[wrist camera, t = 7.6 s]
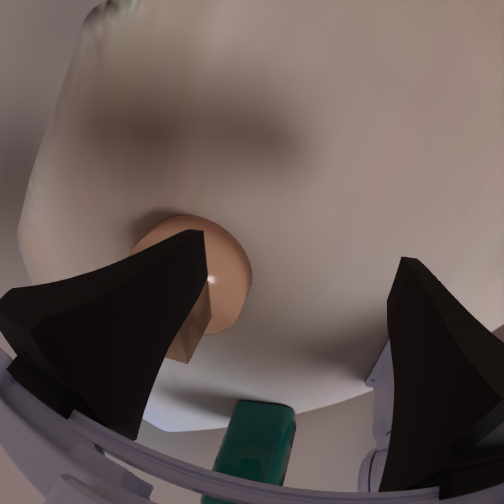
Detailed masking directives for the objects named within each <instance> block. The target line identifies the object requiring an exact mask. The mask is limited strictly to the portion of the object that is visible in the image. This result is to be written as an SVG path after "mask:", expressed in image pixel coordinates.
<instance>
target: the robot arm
mask: <svg viewBox="0 0 504 504" xmlns="http://www.w3.org/2000/svg"><path fill="white" fill-rule="evenodd" d="M207 277H208V268H207V259H206V250H205V239H204V231H203V230H194V229H187V230H184V231H182V232H179V233H177V234H175V235H173V236H171V237H169V238H167V239H165V240H163V241H161V242H158V243H156V244H154V245H152V246H150V247H148V248H146V249H144V250H142V251H140V252H138V253H136V254H134V255H131V256H129V257H127V258H125V259H123V260H121V261H118V262H116V263H113V264H111V265H108V266H106V267H103V268H101V269H98V270H95V271H92V272H89V273H85V274H82V275H79V276H76V277H72V278H69V279H65V280H61V281H57V282H52V283H47V284H41V285H35V286H27V287H20V288H13V289H11V290H9V291H8V292H7V293H6V294H5V295H4V296H3V297H2V298H1V299H0V331H1V333H2V334H3V336H4V337H5V339H6V340H7V341H8V343H9V344H10V346H11V347H12V348H13V350H14V351H15V353H16V354H17V357H16V358H15V359H14V360H13V359H11V357H10V356H9V355H8V354H7V353H6V352H4V351H3V350H2V349H1V348H0V445H1V447H2V448H3V450H4V451H5V452H6V453H7V455H8V456H9V458H10V459H11V460H12V461H13V463H14V464H15V465H16V466H17V468H18V469H19V470H20V471H21V473H22V474H23V475H24V476H25V477H26V478H27V479H28V481H29V482H30V483H31V484H32V485H33V486H34V487H35V488H36V489H37V490H38V492H40V494H41V495H42V496H43V497H44V498H45V499H46V500H45V502H44V504H157V503H155V502H153V501H150V498H149V497H150V494H151V492H152V490H153V486H152V485H151V484H149V483H147V482H145V481H143V480H142V479H140V478H138V477H137V476H135V475H134V474H132V473H131V472H130V471H128V470H127V469H126V468H124V467H122V466H121V465H119V464H117V463H115V462H113V461H112V460H110V459H109V458H107V457H105V454H104V452H106V453H108V454H109V455H111V456H113V457H115V458H117V459H119V460H121V461H123V462H125V463H127V464H129V465H131V466H133V467H135V468H137V469H139V470H141V471H143V472H146V473H148V474H150V475H152V476H155V477H157V478H160V479H162V480H164V481H167V482H169V483H172V484H175V485H177V486H180V487H183V488H186V489H188V490H192V491H194V492H197V493H201V494H204V495H207V496H210V497H214V498H217V499H221V500H225V501H228V502H232V503H236V504H504V343H503V342H502V341H501V340H500V339H498V338H497V337H496V336H495V335H493V334H492V333H491V332H490V331H489V330H488V329H487V328H485V327H484V326H483V325H482V324H481V323H480V322H479V321H478V320H477V319H476V318H474V317H473V316H472V315H471V314H470V313H469V312H468V311H467V310H466V309H465V308H464V307H463V306H462V305H461V303H460V302H459V301H458V300H457V299H456V298H455V297H454V296H453V295H452V294H451V293H450V292H449V291H448V290H447V289H446V288H445V287H444V285H443V284H442V283H441V282H440V281H439V280H438V279H437V278H436V277H435V276H434V275H433V274H432V273H431V272H430V270H429V269H428V268H427V267H426V266H425V265H424V264H423V263H421V262H420V261H419V260H418V259H416V258H409V257H401V260H400V264H399V267H398V270H397V273H396V276H395V279H394V282H393V285H392V288H391V291H390V294H389V297H388V299H387V325H388V333H389V340H388V342H387V344H386V346H385V348H384V349H383V351H382V353H381V355H380V357H379V359H378V361H377V363H376V365H375V366H374V368H373V370H372V372H371V374H370V375H369V377H368V379H367V381H366V383H365V385H366V386H367V387H373V436H374V438H375V440H376V442H377V447H376V448H375V449H372V450H370V452H369V453H368V454H367V455H366V457H365V458H364V460H363V461H362V464H361V467H360V470H359V476H358V492H331V491H317V490H307V489H298V488H291V487H284V486H278V485H272V484H266V483H261V482H256V481H251V480H247V479H242V478H238V477H234V476H230V475H226V474H222V473H219V472H215V471H212V470H208V469H205V468H202V467H199V466H195V465H192V464H189V463H186V462H184V461H181V460H178V459H175V458H173V457H170V456H167V455H165V454H162V453H160V452H157V451H155V450H153V449H150V448H148V447H145V446H143V445H141V444H139V443H136V442H134V440H136V439H137V435H138V431H139V428H140V424H141V420H142V417H143V413H144V410H145V407H146V404H147V401H148V398H149V395H150V392H151V390H152V387H153V384H154V382H155V379H156V377H157V374H158V372H159V369H160V367H161V365H162V362H163V360H164V358H165V355H166V353H167V351H168V349H169V347H170V345H171V343H172V341H173V339H174V338H175V336H176V334H177V333H178V331H179V330H180V328H181V326H182V325H183V323H184V321H185V320H186V318H187V316H188V315H189V313H190V311H191V310H192V308H193V306H194V305H195V303H196V301H197V300H198V298H199V296H200V294H201V292H202V289H203V287H204V285H205V282H206V280H207ZM103 451H104V452H103Z"/></svg>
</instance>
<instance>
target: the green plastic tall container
mask: <svg viewBox="0 0 504 504" xmlns="http://www.w3.org/2000/svg"><path fill="white" fill-rule="evenodd" d="M295 432H296V419H295V412H294V411H293V410H292V409H291V408H289V407H287V406H283V405H275V404H267V403H259V402H251V401H241V402H238V403H237V404H236V405H235V408H234V410H233V413H232V416H231V419H230V422H229V424H228V427H227V430H226V433H225V435H224V438H223V441H222V444H221V446H220V449H219V452H218V455H217V457H216V460H215V462H214V465H213V468H212V471H215V472H219V473H222V474H226V475H230V476H234V477H238V478H242V479H247V480H251V481H256V482H261V483H266V484H272V485H278V486H283V483H284V479H285V475H286V471H287V467H288V463H289V459H290V455H291V450H292V446H293V441H294V437H295ZM201 504H236V503H232V502H228V501H225V500H221V499H217V498H214V497H210V496H207V495H204V494H202V496H201Z"/></svg>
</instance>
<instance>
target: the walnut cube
mask: <svg viewBox="0 0 504 504" xmlns="http://www.w3.org/2000/svg"><path fill="white" fill-rule="evenodd" d="M211 318H212V314H211V305H210V295H209V285H208V277H207V280H206V282H205V285H204V287H203V289H202V292H201V294H200V296H199V298H198V300H197V301H196V303H195V305H194V306H193V308H192V310H191V311H190V313H189V315H188V316H187V318H186V320H185V321H184V323H183V325H182V326H181V328H180V330H179V331H178V333H177V334H176V336H175V338H174V339H173V341H172V343H171V345H170V347H169V349H168V351H167V353H166V355H165V357H166V358H170V359H173V360H176V361H179V362H183V363H186V364H188V363H189V361H190V359H191V357H192V355H193V353H194V351H195V349H196V347H197V345H198V343H199V341H200V339H201V337H202V335H203V333H204V332H205V330H206V328H207V326H208V324H209V322H210V320H211Z"/></svg>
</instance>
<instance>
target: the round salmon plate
mask: <svg viewBox="0 0 504 504" xmlns="http://www.w3.org/2000/svg"><path fill="white" fill-rule="evenodd" d="M187 229H194V230H203V231H204V239H205V250H206V259H207V268H208V285H209V295H210V305H211V314H212V318H211V320H210V322H209V324H208V326H207V328H206V330H205V332H204V333H203V335H210V334H216V333H220V332H223V331H225V330H227V329H228V328H230V327H231V326H232V325H233V324H234V323H235V322H236V320H237V319H238V317H239V314H240V312H241V310H242V307H243V305H244V302H245V300H246V298H247V295H248V293H249V290H250V287H251V284H252V270H251V265H250V262H249V259H248V257H247V255H246V253H245V251H244V249H243V248H242V246H241V245H240V244H239V242H238V241H237V240H236V239H235V238H234V237H233V236H232V235H231V234H230V233H229V232H228V231H226V230H225V229H224V228H222V227H221V226H219V225H217V224H216V223H214V222H212V221H209V220H207V219H204V218H201V217H198V216H192V215H178V216H173V217H170V218H167V219H165V220H163V221H162V222H160V223H159V224H158V225H157V226H156V227H155V228H154V229H152V230H151V231H150V232H149V233H148V234H147V235H146V236H145V237H144V238H143V239H141V240H140V241H139V242H138V243H137V244H136V245H135V247H134V248H133V250H132V251H131V254H130V256H131V255H134V254H136V253H138V252H140V251H142V250H144V249H146V248H148V247H150V246H152V245H154V244H156V243H158V242H161V241H163V240H165V239H167V238H169V237H171V236H173V235H175V234H177V233H179V232H182V231H184V230H187Z"/></svg>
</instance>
